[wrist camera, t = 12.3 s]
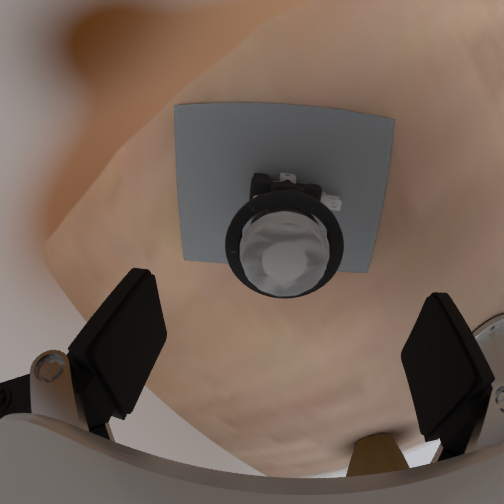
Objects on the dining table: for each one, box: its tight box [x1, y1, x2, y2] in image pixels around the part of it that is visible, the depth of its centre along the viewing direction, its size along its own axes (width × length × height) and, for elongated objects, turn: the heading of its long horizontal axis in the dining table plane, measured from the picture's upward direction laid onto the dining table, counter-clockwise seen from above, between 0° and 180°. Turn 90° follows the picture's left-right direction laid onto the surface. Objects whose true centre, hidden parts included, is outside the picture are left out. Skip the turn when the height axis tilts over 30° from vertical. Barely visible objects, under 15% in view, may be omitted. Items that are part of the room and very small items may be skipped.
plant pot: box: [346, 433, 409, 477], centre depth 35 cm, size 15×15×16 cm
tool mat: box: [174, 103, 395, 273], centre depth 21 cm, size 16×13×1 cm
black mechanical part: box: [225, 173, 344, 298], centre depth 16 cm, size 7×5×10 cm
